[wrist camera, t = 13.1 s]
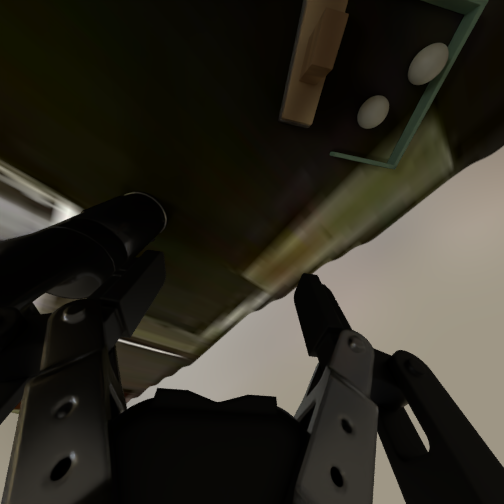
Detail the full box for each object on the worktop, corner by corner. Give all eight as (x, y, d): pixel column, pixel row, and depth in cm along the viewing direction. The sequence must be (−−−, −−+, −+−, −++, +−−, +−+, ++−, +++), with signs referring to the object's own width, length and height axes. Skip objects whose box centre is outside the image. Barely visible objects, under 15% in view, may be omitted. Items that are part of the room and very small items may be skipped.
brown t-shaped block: (277, 121, 29) (287, 113, 21) (303, -2, 23) (333, -83, 15) (306, 128, 30) (327, 122, 22) (340, 9, 23) (388, -63, 15)
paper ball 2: (395, 84, 27) (416, 76, 24) (412, 47, 25) (438, 31, 22) (418, 91, 27) (442, 83, 24) (436, 55, 25) (466, 41, 22)
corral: (329, 155, 32) (333, 155, 30) (391, -18, 22) (403, -31, 20) (387, 168, 33) (395, 169, 31) (471, 9, 23) (489, -2, 21)
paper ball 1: (381, 132, 29) (356, 129, 31) (396, 100, 26) (368, 99, 29) (377, 127, 26) (349, 124, 28) (393, 91, 24) (362, 91, 26)
